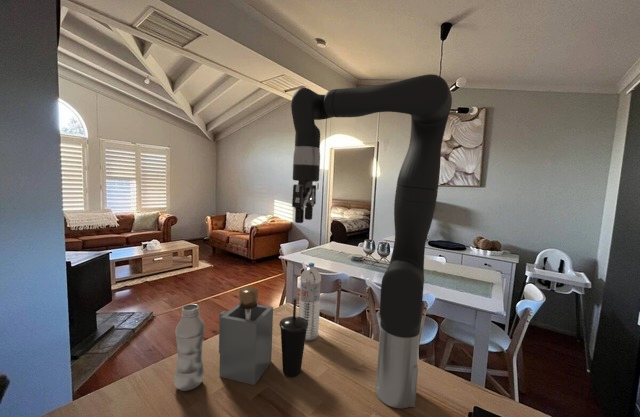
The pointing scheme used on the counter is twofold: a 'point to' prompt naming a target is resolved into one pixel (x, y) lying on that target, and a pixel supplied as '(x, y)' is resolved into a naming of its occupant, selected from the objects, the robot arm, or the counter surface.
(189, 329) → the plastic bottle
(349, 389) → the counter surface
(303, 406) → the counter surface
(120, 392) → the counter surface
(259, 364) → the box
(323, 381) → the counter surface
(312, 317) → the water bottle
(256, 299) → the plunger
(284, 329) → the drinking cup
